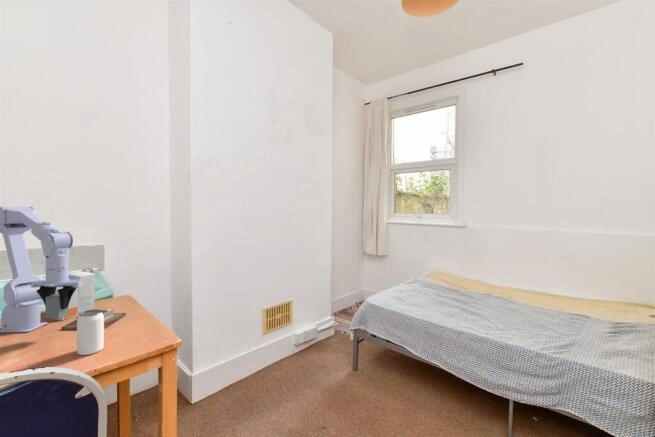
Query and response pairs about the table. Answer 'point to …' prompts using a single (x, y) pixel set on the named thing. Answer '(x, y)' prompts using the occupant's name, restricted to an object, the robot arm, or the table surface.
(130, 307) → the table surface
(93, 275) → the skincare box
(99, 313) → the can
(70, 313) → the skincare box
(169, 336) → the table surface
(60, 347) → the table surface
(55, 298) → the grey peg
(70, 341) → the table surface
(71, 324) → the socket board
